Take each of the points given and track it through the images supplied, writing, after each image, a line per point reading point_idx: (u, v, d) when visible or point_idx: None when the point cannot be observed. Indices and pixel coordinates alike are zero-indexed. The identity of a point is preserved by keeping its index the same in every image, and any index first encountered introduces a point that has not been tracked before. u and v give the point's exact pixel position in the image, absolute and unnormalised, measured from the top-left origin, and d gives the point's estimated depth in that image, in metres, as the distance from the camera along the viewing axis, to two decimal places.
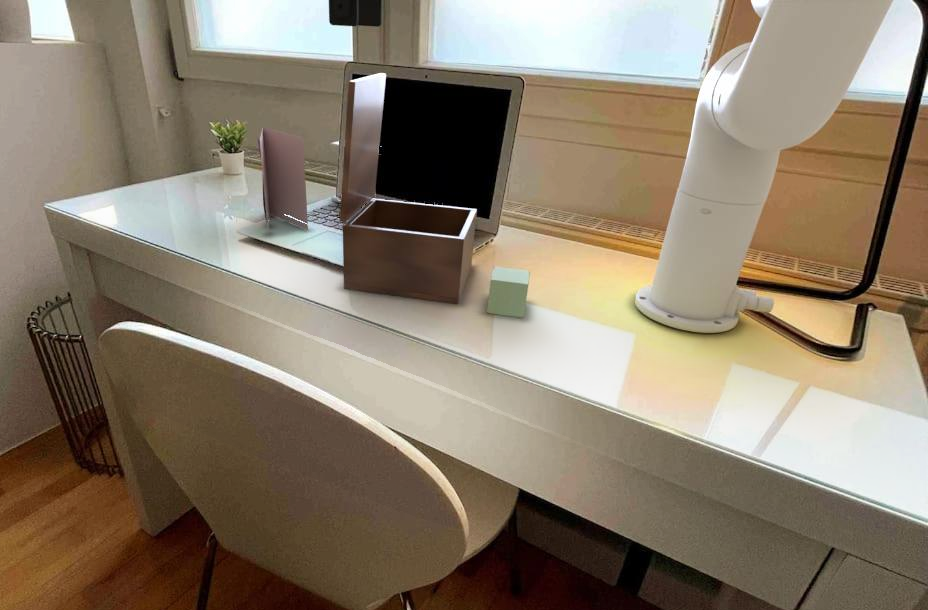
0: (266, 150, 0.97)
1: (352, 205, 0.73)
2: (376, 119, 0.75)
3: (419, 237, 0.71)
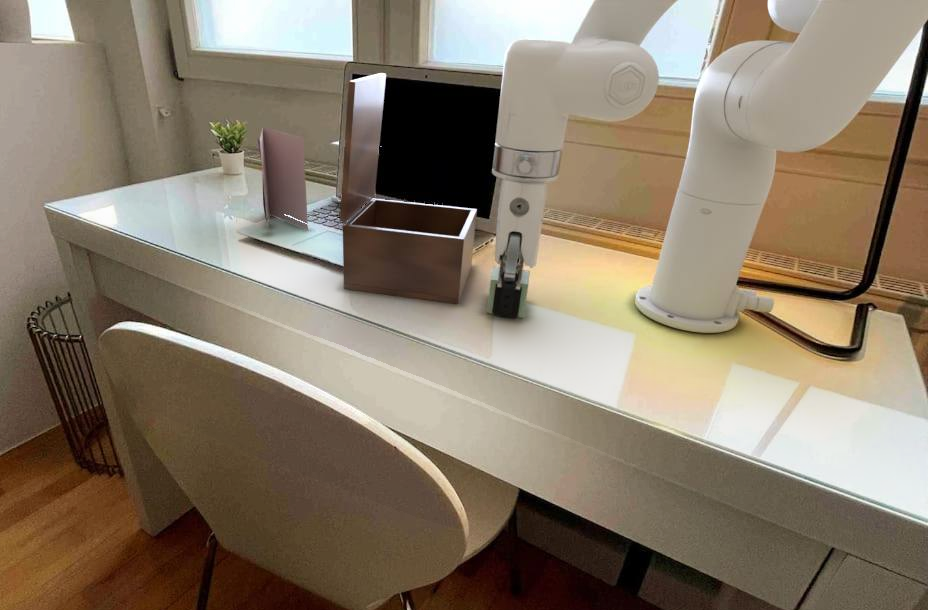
0: (266, 150, 0.97)
1: (352, 205, 0.73)
2: (376, 119, 0.75)
3: (419, 237, 0.71)
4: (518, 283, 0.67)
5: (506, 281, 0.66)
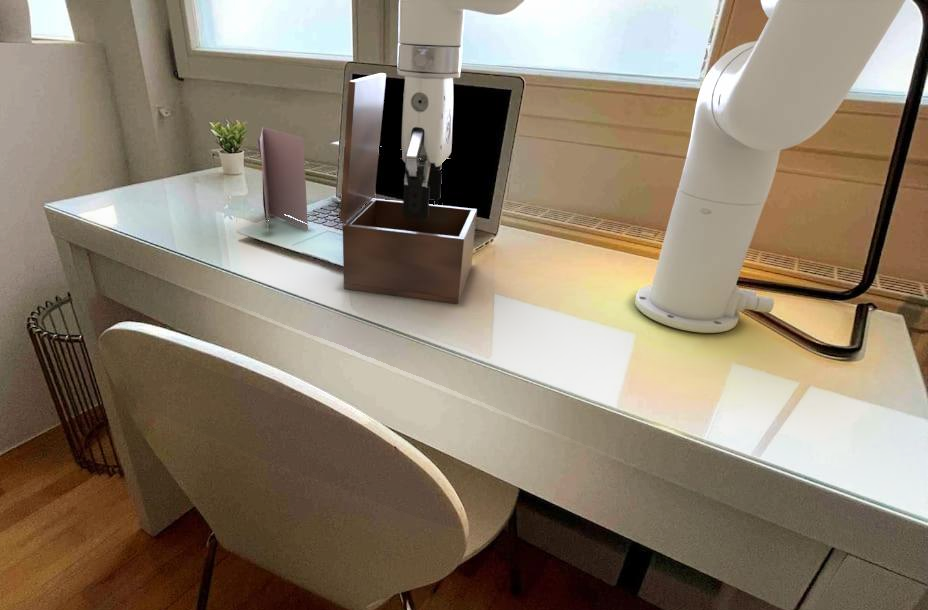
0: (266, 150, 0.97)
1: (352, 205, 0.73)
2: (376, 119, 0.75)
3: (419, 237, 0.71)
4: (424, 178, 0.68)
5: (410, 174, 0.67)
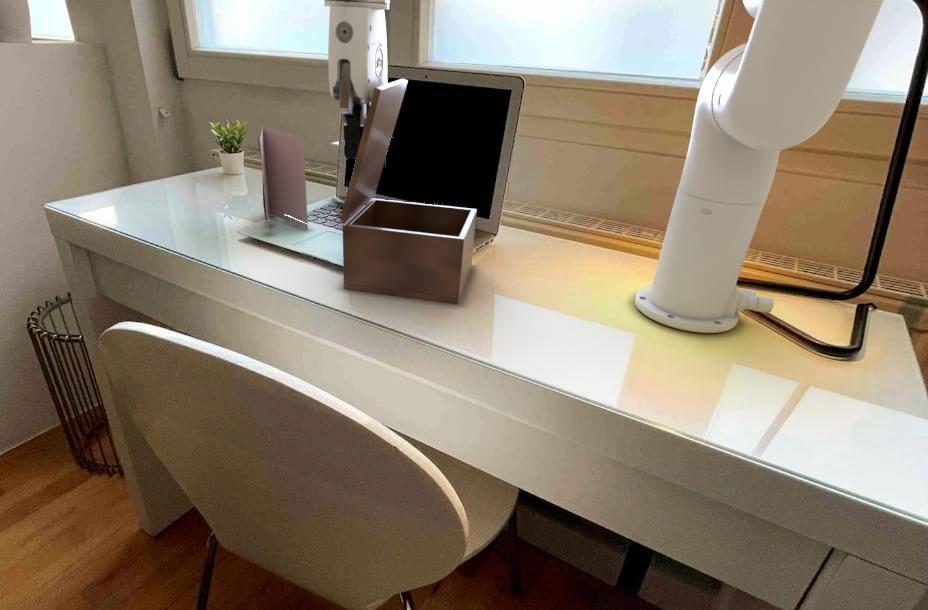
0: (266, 150, 0.97)
1: (354, 206, 0.73)
2: (391, 124, 0.75)
3: (419, 237, 0.71)
4: (361, 121, 0.70)
5: (347, 115, 0.69)
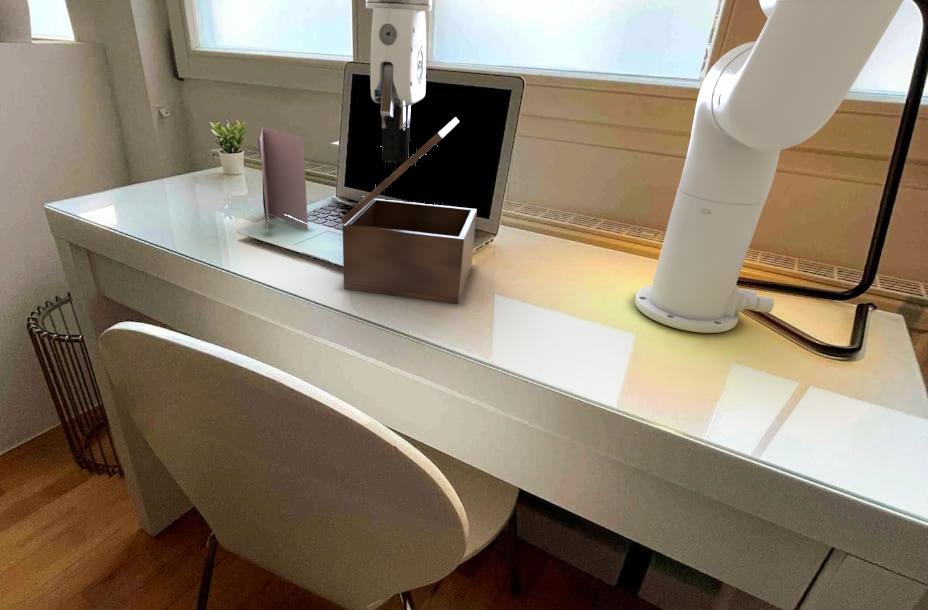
0: (266, 150, 0.97)
1: None
2: None
3: (419, 237, 0.71)
4: (401, 124, 0.69)
5: (387, 118, 0.68)
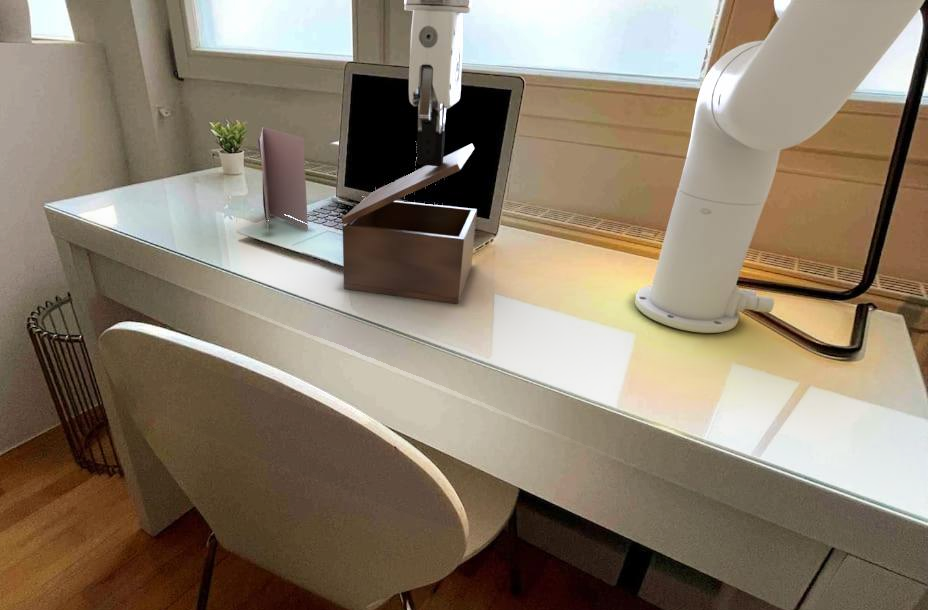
0: (266, 150, 0.97)
1: None
2: None
3: (419, 237, 0.71)
4: (437, 127, 0.69)
5: (424, 121, 0.67)
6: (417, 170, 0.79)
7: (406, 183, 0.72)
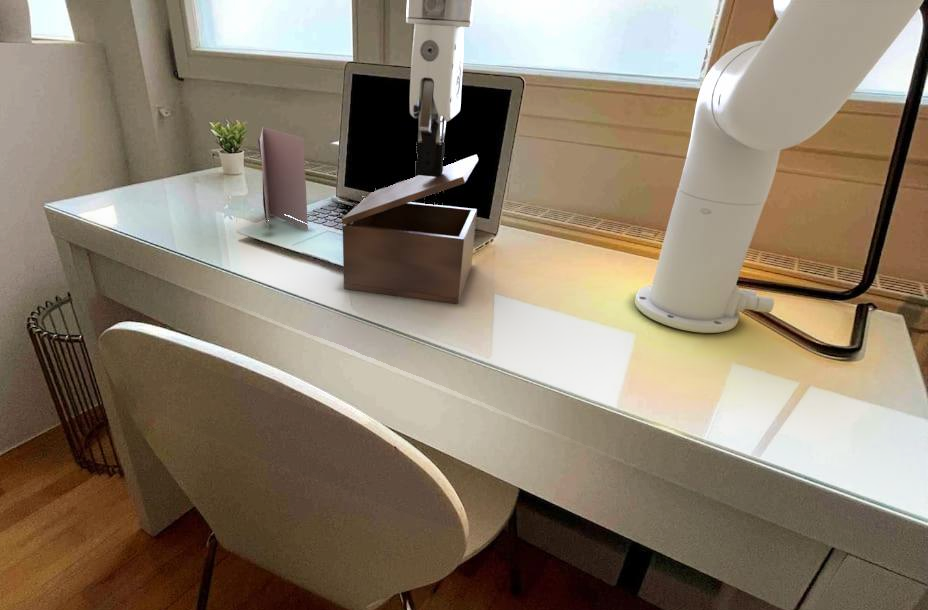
0: (266, 150, 0.97)
1: None
2: None
3: (419, 237, 0.71)
4: (437, 139, 0.69)
5: None
6: (419, 175, 0.80)
7: (409, 189, 0.72)
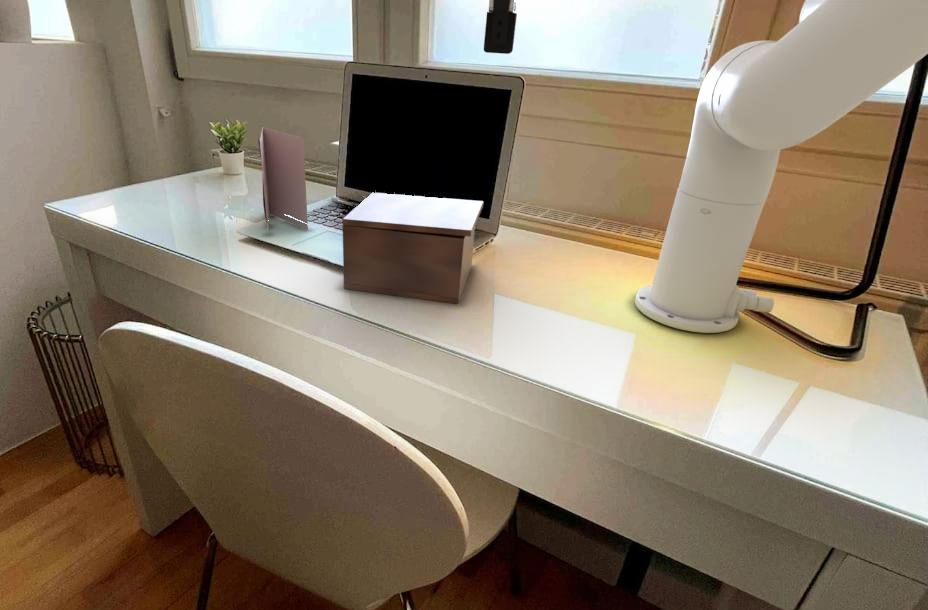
0: (266, 150, 0.97)
1: None
2: None
3: (419, 237, 0.71)
4: (511, 4, 0.61)
5: None
6: (424, 198, 0.81)
7: (415, 215, 0.74)
